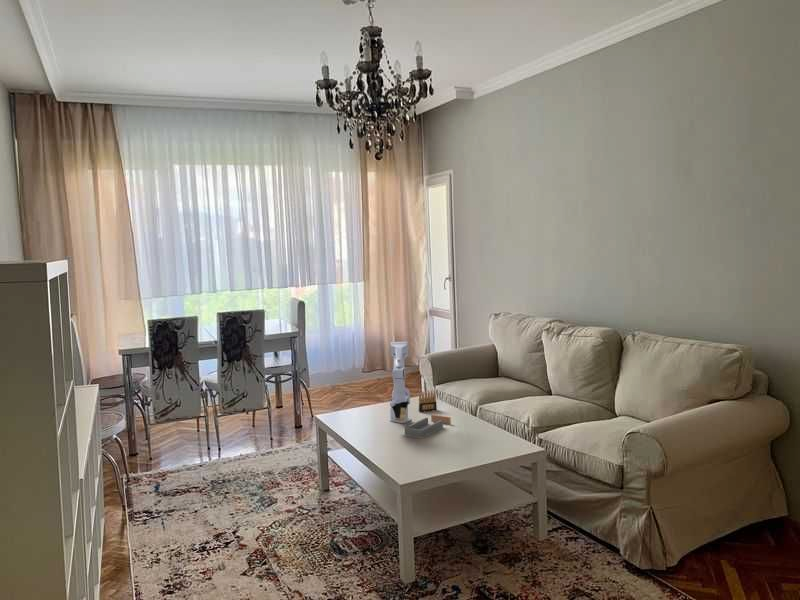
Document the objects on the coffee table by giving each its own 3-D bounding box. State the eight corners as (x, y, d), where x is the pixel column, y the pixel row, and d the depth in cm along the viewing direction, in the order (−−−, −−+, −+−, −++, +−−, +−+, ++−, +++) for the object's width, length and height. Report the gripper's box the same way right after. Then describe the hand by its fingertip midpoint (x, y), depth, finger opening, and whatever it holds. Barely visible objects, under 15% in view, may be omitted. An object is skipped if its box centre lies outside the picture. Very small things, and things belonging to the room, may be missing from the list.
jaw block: (395, 419, 321) (394, 408, 321) (399, 417, 325) (399, 406, 324) (401, 421, 319) (401, 409, 318) (405, 419, 322) (405, 407, 322)
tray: (404, 435, 317) (404, 427, 317) (426, 424, 334) (426, 417, 334) (421, 438, 311) (421, 430, 311) (442, 427, 328) (442, 420, 328)
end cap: (431, 421, 339) (431, 414, 339) (432, 420, 340) (432, 414, 340) (449, 424, 333) (449, 417, 332) (450, 423, 334) (450, 417, 333)
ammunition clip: (435, 409, 363) (435, 389, 362) (436, 410, 362) (436, 390, 360) (418, 411, 360) (418, 391, 359) (419, 412, 359) (418, 392, 358)
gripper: (397, 395, 312) (398, 421, 313) (413, 388, 324) (414, 414, 325) (386, 393, 316) (387, 419, 317) (402, 387, 328) (403, 412, 329)
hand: (400, 416), depth 322 cm, fingers closed on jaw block, 4 cm apart
